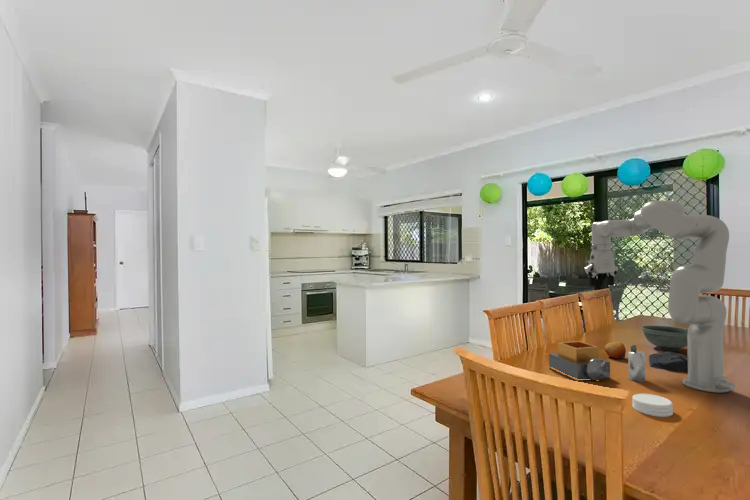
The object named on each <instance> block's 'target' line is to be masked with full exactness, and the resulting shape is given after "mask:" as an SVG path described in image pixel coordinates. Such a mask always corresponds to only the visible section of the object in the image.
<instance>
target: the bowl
mask: <svg viewBox="0 0 750 500" xmlns="http://www.w3.org/2000/svg"><path fill="white" fill-rule="evenodd" d="M688 329H689V328H687V327H686V328H685V327H681V326H669V325H642V326H641V330H642V332H643V335H644V337H645V338H646V340H647V342H649V343H651V344H652V345H654V346H656V349H658V350H661V351H662V350H663V351H667V352H669V351H671V352H679V351H681V350H682V349H683V348H687V334H688Z"/></svg>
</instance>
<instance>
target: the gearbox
mask: <svg viewBox="0 0 750 500" xmlns="http://www.w3.org/2000/svg"><path fill="white" fill-rule="evenodd" d="M557 351H558V352H554V353H553V352H552V353H551V352H550V353H548V367H549V366H550V367H553V368H555V369H557V370H559V371H561V372H563V373H565V374H567V375H570V376H572V377H575V378H577V379H592V380H591V381H594V380H601V381H602V380H604V378H605V379H610V378H611V362H610V361H608V360H605V359H603V358H600V349H599V346H597V345H593V344H590V343H587V342H583V341H582V340H581V341H580V340H579V341H566V342H565V341H564V342H558V343H557Z"/></svg>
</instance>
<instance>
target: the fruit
mask: <svg viewBox="0 0 750 500" xmlns="http://www.w3.org/2000/svg"><path fill="white" fill-rule="evenodd" d="M604 352H605V353H606V355H607V357H609V356H610V357H609V358H613V359H615V360H620V359H625V357H626V346H625V345H624V344H623V343H622V342H620V341H612V342H608V343H606V344H605V346H604Z"/></svg>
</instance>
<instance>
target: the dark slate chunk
mask: <svg viewBox="0 0 750 500" xmlns="http://www.w3.org/2000/svg"><path fill="white" fill-rule="evenodd" d="M648 363H649V366H650V368H654V369H658V370H666V371H671V372H680V373H688V357H687V356H685V355H684V354H681V353H677V352H675V351H663V352H659V353H657V352H656V353H653V354H649V355H648Z"/></svg>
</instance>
